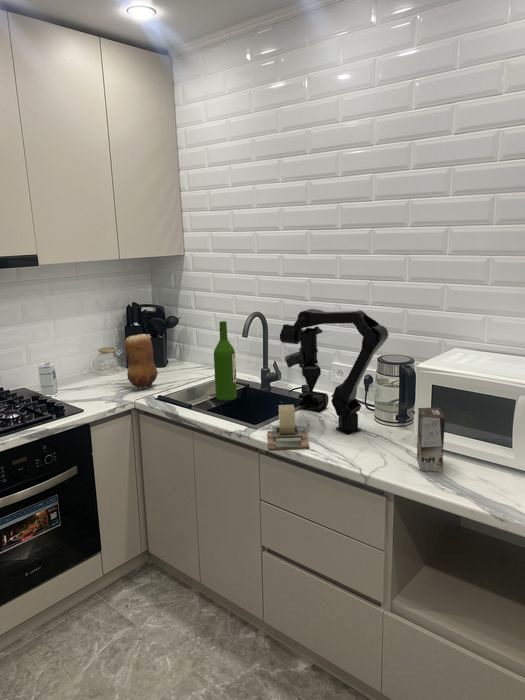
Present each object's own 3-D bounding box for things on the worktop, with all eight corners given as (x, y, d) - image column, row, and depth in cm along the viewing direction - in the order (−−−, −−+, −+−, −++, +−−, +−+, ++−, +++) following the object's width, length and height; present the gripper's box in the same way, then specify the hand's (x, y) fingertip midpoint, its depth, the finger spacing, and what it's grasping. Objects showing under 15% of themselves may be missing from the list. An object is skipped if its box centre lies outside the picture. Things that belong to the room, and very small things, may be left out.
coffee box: (443, 472, 150) (445, 417, 146) (419, 471, 151) (421, 417, 148) (438, 458, 159) (440, 407, 155) (416, 457, 160) (417, 406, 156)
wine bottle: (237, 400, 221) (233, 323, 214) (215, 401, 221) (211, 323, 214) (236, 393, 230) (233, 319, 223) (216, 394, 229) (212, 320, 223)
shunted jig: (267, 433, 183) (267, 425, 183) (305, 432, 183) (305, 424, 183) (268, 450, 169) (268, 442, 168) (309, 448, 169) (309, 440, 168)
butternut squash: (132, 384, 250) (127, 332, 245) (160, 383, 251) (156, 331, 246) (125, 392, 237) (120, 337, 232) (155, 391, 237) (151, 336, 232)
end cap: (328, 408, 208) (328, 391, 206) (320, 413, 202) (320, 396, 201) (306, 404, 213) (306, 388, 212) (297, 409, 208) (297, 392, 206)
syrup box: (55, 396, 234) (51, 365, 231) (41, 397, 233) (37, 365, 230) (58, 393, 240) (54, 362, 237) (44, 394, 239) (40, 362, 236)
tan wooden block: (279, 433, 181) (278, 405, 179) (294, 432, 181) (293, 404, 179) (280, 438, 176) (279, 409, 174) (295, 438, 176) (294, 409, 174)
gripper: (284, 340, 195) (285, 381, 198) (287, 351, 177) (288, 396, 180) (314, 339, 195) (315, 380, 198) (320, 350, 177) (321, 395, 180)
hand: (309, 388), depth 189 cm, fingers open, 9 cm apart
